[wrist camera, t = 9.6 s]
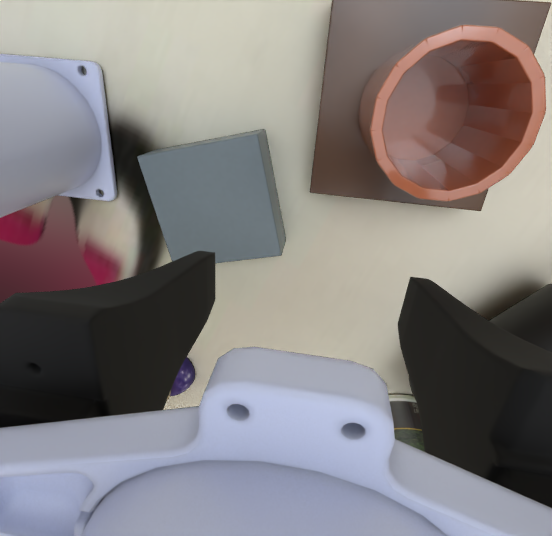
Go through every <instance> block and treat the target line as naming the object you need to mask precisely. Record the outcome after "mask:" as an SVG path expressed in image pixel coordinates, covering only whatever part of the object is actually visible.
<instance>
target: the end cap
mask: <svg viewBox="0 0 552 536" xmlns="http://www.w3.org/2000/svg"><path fill="white" fill-rule="evenodd" d="M489 321H490V322H492V323H493V324H495V325H497V326H498V327H500V328H502V329H504V330H506V331H508V332H509V333H511V334H513V335H515V336H517V337H519V338H521V339H523V340H525V341H527V342H529V343H532V344H534V345H536V346H538V347H540V348H543V349H545V350H547V351H550V352H552V284H548V285H546V286H545V287H543V288H541V289H540V290H538V291H537V292H535V293H533V294H532V295H530V296H528V297H527V298H525V299H524V300H522V301H520V302H519V303H517V304H515V305H514V306H512V307H511V308H509V309H507V310H506V311H504V312H502V313H501V314H499V315H498V316H496V317H494V318H493V319H491V320H489ZM409 382H410V387H411V390H412V393H413V395H414V398H415V394H414V391H413V388H412V384H411V381H410V377H409ZM415 400H416V398H415Z"/></svg>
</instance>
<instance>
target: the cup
mask: <svg viewBox="0 0 552 536" xmlns="http://www.w3.org/2000/svg"><path fill="white" fill-rule="evenodd" d="M545 111H546V95H545V76H544V73H543V71H542V69H541V67H540V65H539V63H538V62H537V60H536V58H535V56H534V54H533V52H532V50H531V49H530V47H529V46H528V45H527V44H526V43H524V42H523V41H521V40H520V39H518V38H516V37H515V36H513V35H512V34H510V33H508V32H507V31H505V30H504V29H502V28H499V27H494V26H479V25H459V26H457V27H454V28H451V29H448V30H446V31H443V32H440V33H437V34H435V35H432V36H429V37H427V38H425V39H423V40H421V41H419V42H417V43H415V44H413V45H411V46H409V47H407V48H405V49H403V50H401V51H399V52H397V53H396V54H394V55H393V56H392V57H390V58H389V59H388V60H386V61H385V62H384V63H383V64H382V65H381V66H380V67H379V68H378V69H377V70H376V71H375V72H374V73H373V75H372V76H371V78H370V79H369V81H368V82H367V84H366V86H365V88H364V91H363V94H362V96H361V100H360V105H359V125H360V130H361V133H362V137H363V140H364V142H365V143H366V145H367V147H368V148H369V150H370V152H371V153H372V155H373V157H374V158H375V160H376V162H377V163H378V165H379V166H380V167H381V169H382V170H383V171H384V173H385V174H386V176H387V177H388V178H389V180H390V181H391V182H392V184H394V185H395V186H397V187H398V188H400V189H402V190H404V191H406V192H407V193H409V194H411V195H413V196H414V197H416V198H419V199H427V200H437V201H446V202H447V201H453V200H456V199H460V198H464V197H468V196H472V195H476V194H479V193H481V192H483V191H485V190H486V189H488V188H489V187H491V186H492V185H494V184H495V183H497V182H499V181H500V180H502V179H503V178H505V177H506V176H508V175H509V174H510V173H511V172H512V171H513V170H514V168H515V167H516V166H517V165H518V164H519V162H520V161H521V160H522V159H523V158H524V156H525V155H526V154H527V153H528V151H529V150H530V149H531V148H532V146H533V145H534V142H535V139H536V137H537V134H538V131H539V129H540V126H541V123H542V121H543V118H544V115H545Z"/></svg>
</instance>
